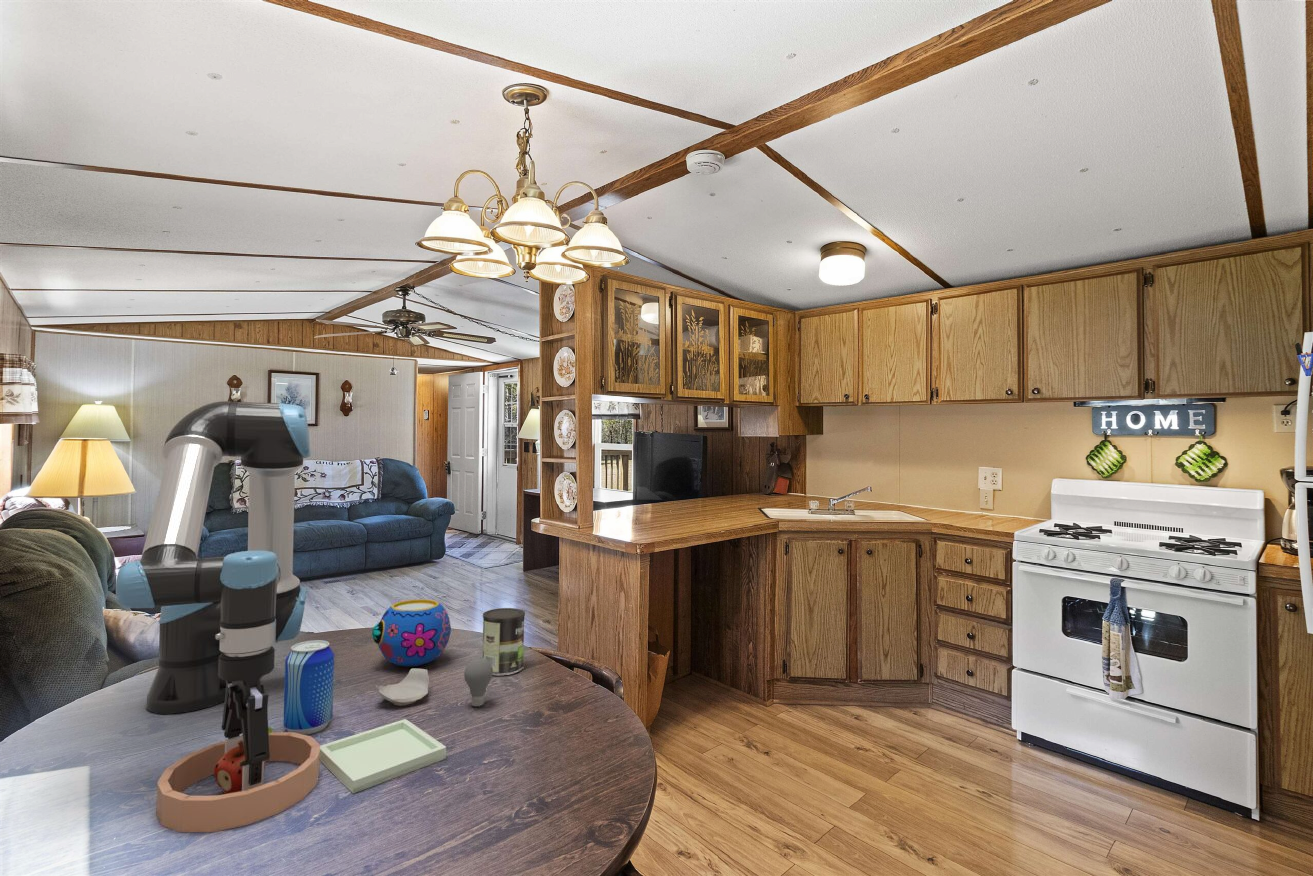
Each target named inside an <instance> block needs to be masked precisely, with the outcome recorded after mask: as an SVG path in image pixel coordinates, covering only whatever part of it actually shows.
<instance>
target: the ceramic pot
mask: <svg viewBox="0 0 1313 876" xmlns="http://www.w3.org/2000/svg"><path fill="white" fill-rule="evenodd" d="M450 621H451V620H450V617H449V614H448V612H447V610H446V609H445V607H444V606H443V605H442V604H441V603H440V602H439V601H436V600H434V599H422V598H421V599H407V600H403V601H398V602H396V603H394V604H392V605H390V607H388V608H387V609H386V610H385V611H384V614H383V615H382V616H381V619H380V621H379V622H378V623H376V624H375V625H374V626H373V628H372V630H371V636H372V637H371V638H372V640H373V642H374V643H376V645H378V649H379V651H380V653H381V654H382V656H383V658H384V659H385V660H386V661H388V662H389V663H391V664H394V665H396V666H399V667H410V668H411V667H418V666H422V665H425V664H429V663H430V662H432V661H434V660H435V659H437V658H438V657H440V656H441V654H443V652H444V651H445V649H446V647H447V645H448V643H449V640H450V638H451V637H450V636H451V631H452V627H451V622H450Z"/></svg>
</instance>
